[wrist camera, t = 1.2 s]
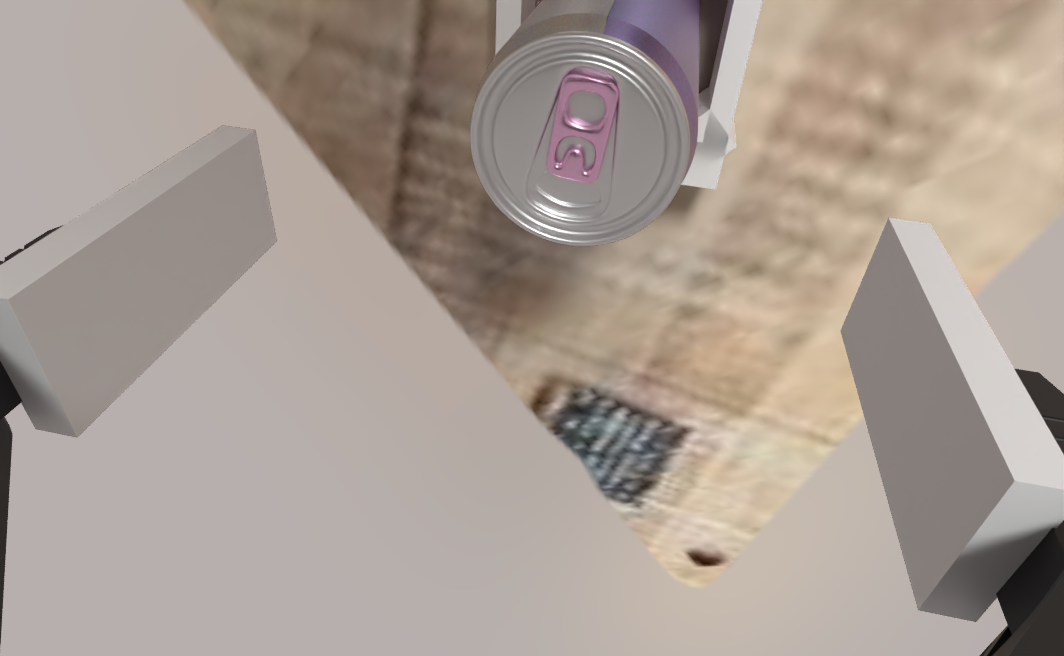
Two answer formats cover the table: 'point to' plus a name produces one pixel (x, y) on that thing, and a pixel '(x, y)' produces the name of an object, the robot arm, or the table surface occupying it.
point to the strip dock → (713, 101)
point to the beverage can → (590, 117)
